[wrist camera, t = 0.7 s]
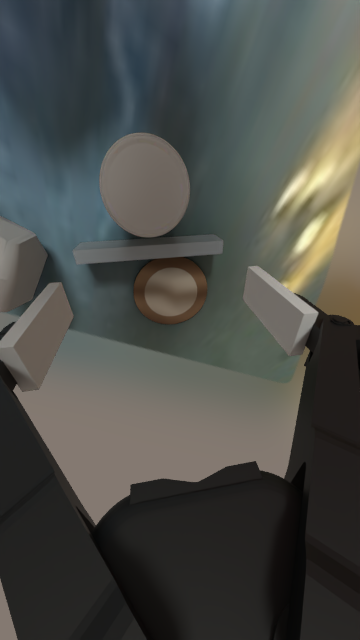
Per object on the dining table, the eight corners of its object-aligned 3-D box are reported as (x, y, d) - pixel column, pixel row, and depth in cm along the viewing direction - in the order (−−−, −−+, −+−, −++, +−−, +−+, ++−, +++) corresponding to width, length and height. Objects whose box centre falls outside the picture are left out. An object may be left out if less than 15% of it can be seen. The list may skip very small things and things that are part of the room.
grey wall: (80, 242, 34) (72, 250, 30) (214, 234, 37) (223, 240, 33) (84, 254, 36) (76, 264, 31) (213, 246, 38) (222, 253, 34)
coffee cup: (154, 234, 36) (160, 254, 26) (100, 197, 32) (82, 203, 22) (188, 180, 32) (209, 178, 22) (132, 130, 28) (127, 101, 18)
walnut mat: (128, 257, 37) (127, 259, 36) (207, 252, 38) (209, 253, 38) (138, 325, 44) (138, 328, 44) (205, 318, 46) (206, 320, 45)
